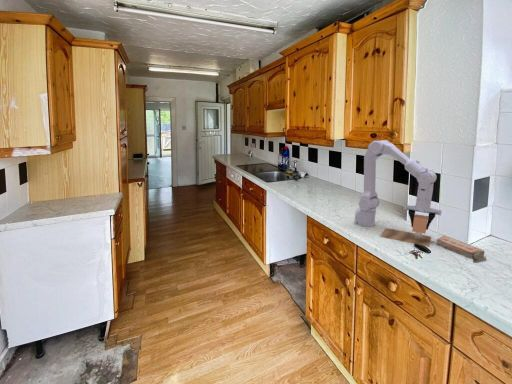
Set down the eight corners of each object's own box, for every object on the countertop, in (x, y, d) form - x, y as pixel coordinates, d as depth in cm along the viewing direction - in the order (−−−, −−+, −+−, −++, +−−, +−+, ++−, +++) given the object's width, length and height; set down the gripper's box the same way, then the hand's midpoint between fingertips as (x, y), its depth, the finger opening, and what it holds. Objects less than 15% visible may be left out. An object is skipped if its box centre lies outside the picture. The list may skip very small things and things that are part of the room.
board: (379, 239, 140) (379, 236, 140) (385, 230, 151) (385, 227, 151) (429, 249, 130) (429, 246, 129) (430, 239, 141) (431, 236, 141)
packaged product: (489, 249, 120) (472, 252, 116) (487, 260, 121) (469, 264, 117) (447, 233, 136) (430, 236, 133) (445, 243, 137) (429, 246, 134)
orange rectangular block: (412, 231, 136) (414, 217, 134) (413, 227, 140) (415, 214, 139) (425, 233, 133) (427, 219, 132) (426, 230, 137) (428, 216, 136)
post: (414, 239, 137) (416, 227, 136) (414, 237, 139) (416, 225, 138) (420, 240, 136) (422, 228, 135) (421, 238, 138) (423, 227, 137)
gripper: (404, 197, 134) (400, 227, 137) (443, 202, 126) (437, 233, 129) (406, 194, 140) (402, 222, 143) (443, 199, 132) (438, 228, 135)
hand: (419, 227), depth 136 cm, fingers closed on orange rectangular block, 5 cm apart
